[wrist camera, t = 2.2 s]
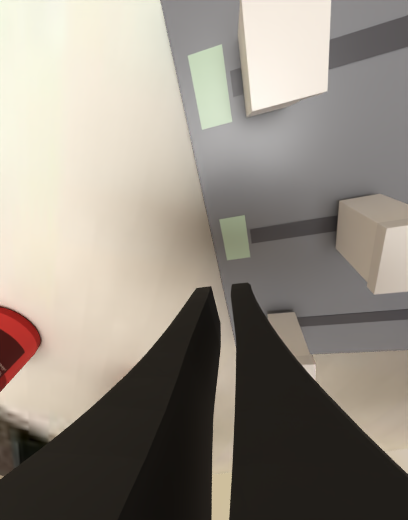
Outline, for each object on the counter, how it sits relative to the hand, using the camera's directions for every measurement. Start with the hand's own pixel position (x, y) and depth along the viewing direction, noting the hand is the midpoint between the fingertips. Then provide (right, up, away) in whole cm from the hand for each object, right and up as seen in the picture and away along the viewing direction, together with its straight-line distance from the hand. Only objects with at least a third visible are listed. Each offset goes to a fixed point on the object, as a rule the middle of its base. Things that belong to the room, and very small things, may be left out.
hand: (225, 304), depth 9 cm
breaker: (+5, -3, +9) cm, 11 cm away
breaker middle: (+8, +4, +4) cm, 10 cm away
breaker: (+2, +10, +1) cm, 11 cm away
